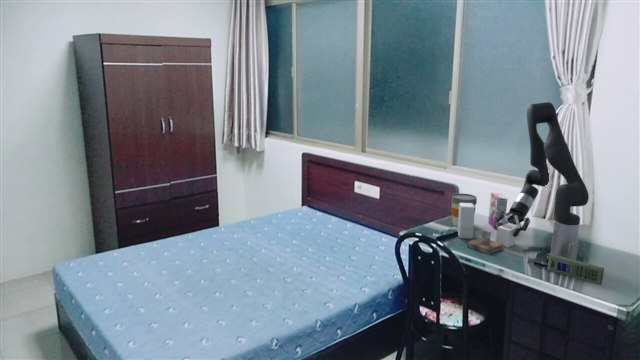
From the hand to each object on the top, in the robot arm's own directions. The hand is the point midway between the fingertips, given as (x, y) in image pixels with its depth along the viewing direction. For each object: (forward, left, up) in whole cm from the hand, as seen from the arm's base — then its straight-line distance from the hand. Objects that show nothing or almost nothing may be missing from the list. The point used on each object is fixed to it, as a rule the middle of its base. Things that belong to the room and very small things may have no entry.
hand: (505, 233), depth 219 cm
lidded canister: (+29, -8, -5) cm, 30 cm away
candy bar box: (+17, -20, -5) cm, 27 cm away
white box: (0, -1, -5) cm, 5 cm away
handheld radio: (-33, +9, -6) cm, 35 cm away
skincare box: (+18, +5, -5) cm, 19 cm away
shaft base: (+3, +11, -5) cm, 12 cm away
